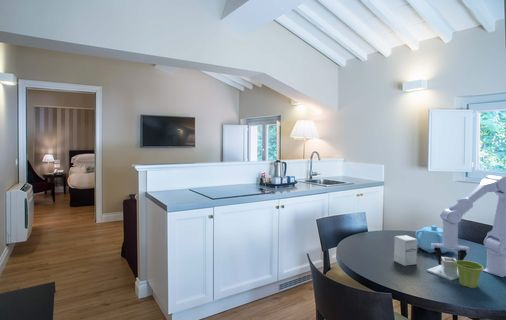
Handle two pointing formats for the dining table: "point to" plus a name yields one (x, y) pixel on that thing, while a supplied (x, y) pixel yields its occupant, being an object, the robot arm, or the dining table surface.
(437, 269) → the duct plate
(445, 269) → the white boxy piece
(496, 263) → the robot arm
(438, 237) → the decorative pot
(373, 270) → the dining table surface
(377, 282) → the dining table surface
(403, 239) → the supplement box
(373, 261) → the dining table surface
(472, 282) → the plant pot
